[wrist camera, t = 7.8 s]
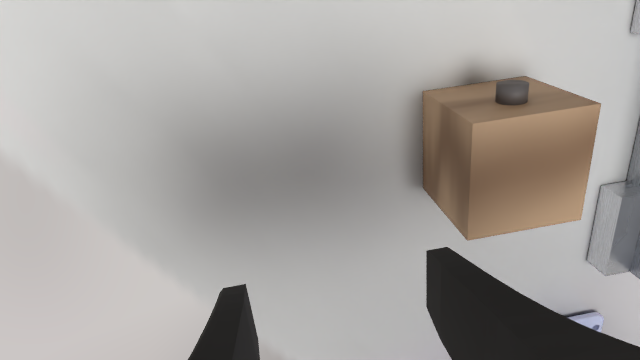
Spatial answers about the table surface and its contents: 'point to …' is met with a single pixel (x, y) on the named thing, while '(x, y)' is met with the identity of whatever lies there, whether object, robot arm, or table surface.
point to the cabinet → (507, 154)
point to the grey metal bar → (619, 214)
